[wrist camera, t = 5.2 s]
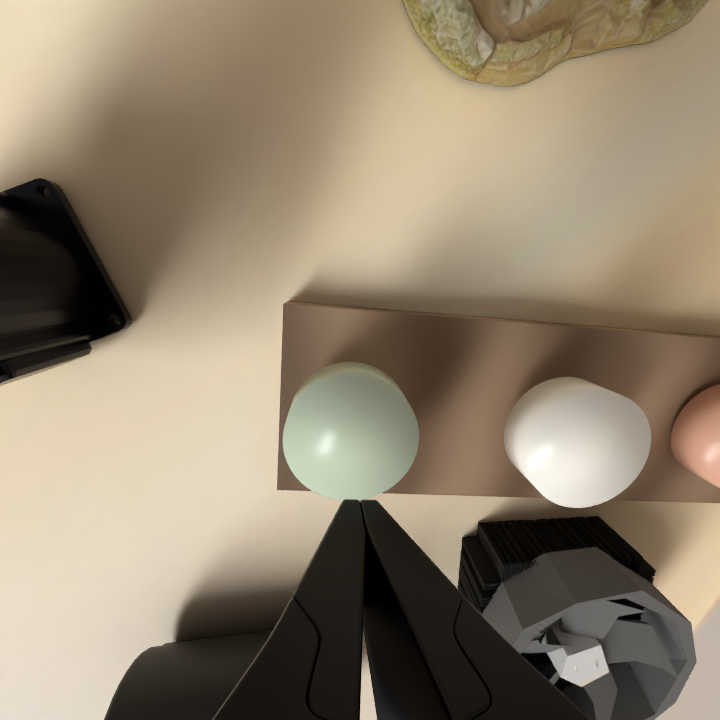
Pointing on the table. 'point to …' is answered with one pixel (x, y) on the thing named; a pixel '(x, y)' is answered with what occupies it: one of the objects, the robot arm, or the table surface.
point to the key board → (499, 388)
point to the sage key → (350, 432)
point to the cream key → (577, 441)
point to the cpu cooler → (581, 613)
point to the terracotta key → (699, 436)
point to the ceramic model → (536, 32)
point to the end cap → (184, 678)
